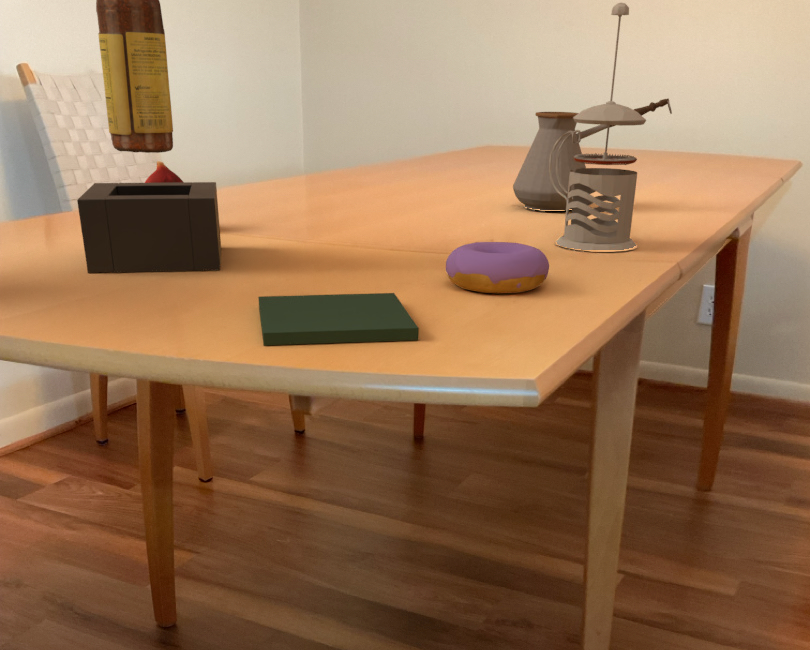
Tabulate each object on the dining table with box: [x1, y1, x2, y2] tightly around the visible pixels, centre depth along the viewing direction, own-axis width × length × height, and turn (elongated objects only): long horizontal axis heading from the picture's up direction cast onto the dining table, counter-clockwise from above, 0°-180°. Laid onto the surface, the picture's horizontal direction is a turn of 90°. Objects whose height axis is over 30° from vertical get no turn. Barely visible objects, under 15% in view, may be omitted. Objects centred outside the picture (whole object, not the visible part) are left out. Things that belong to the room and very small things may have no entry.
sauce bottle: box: [95, 0, 174, 154], centre depth 88 cm, size 6×6×20 cm
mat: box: [258, 292, 420, 346], centre depth 75 cm, size 12×12×1 cm
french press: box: [549, 2, 647, 250], centre depth 104 cm, size 10×12×25 cm
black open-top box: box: [76, 181, 222, 274], centre depth 97 cm, size 13×13×7 cm
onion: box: [144, 160, 184, 183], centre depth 113 cm, size 6×6×8 cm
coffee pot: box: [512, 97, 673, 210], centre depth 131 cm, size 21×12×15 cm, turn 80°
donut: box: [445, 241, 550, 294], centre depth 88 cm, size 10×9×5 cm
